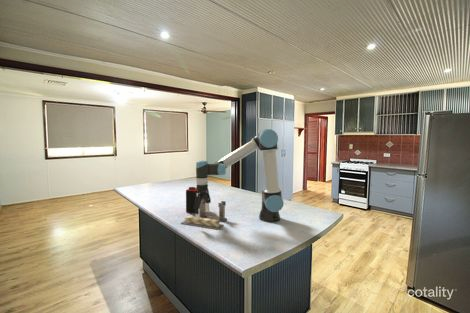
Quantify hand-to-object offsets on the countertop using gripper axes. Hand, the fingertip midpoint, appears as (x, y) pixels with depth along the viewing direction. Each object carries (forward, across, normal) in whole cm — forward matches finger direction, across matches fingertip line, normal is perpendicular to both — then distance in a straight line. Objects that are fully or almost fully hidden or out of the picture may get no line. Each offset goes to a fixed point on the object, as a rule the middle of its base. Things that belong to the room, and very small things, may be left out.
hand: (202, 215), depth 153 cm
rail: (+6, 0, 0) cm, 6 cm away
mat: (+6, 0, 0) cm, 6 cm away
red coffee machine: (+6, -24, -18) cm, 31 cm away
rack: (+6, -13, 0) cm, 14 cm away
